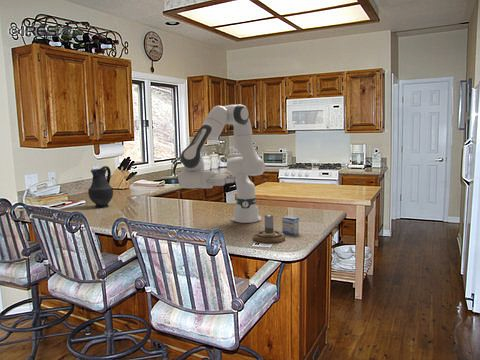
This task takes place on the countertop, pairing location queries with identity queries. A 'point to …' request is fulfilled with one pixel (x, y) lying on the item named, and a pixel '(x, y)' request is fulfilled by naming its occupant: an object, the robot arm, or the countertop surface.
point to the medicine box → (290, 225)
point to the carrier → (269, 237)
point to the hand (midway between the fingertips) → (235, 179)
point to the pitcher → (101, 187)
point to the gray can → (269, 226)
